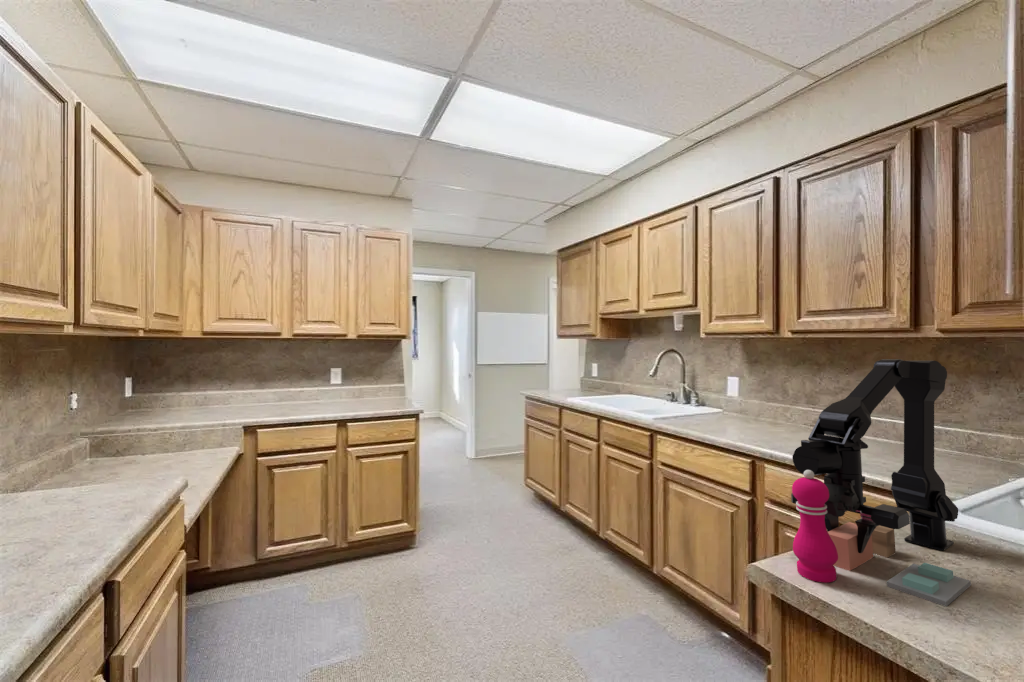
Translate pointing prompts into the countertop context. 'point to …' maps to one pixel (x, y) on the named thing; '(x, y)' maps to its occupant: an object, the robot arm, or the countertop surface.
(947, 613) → the countertop surface
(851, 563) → the bar
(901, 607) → the countertop surface
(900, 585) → the build plate
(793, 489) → the pepper mill
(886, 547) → the block
